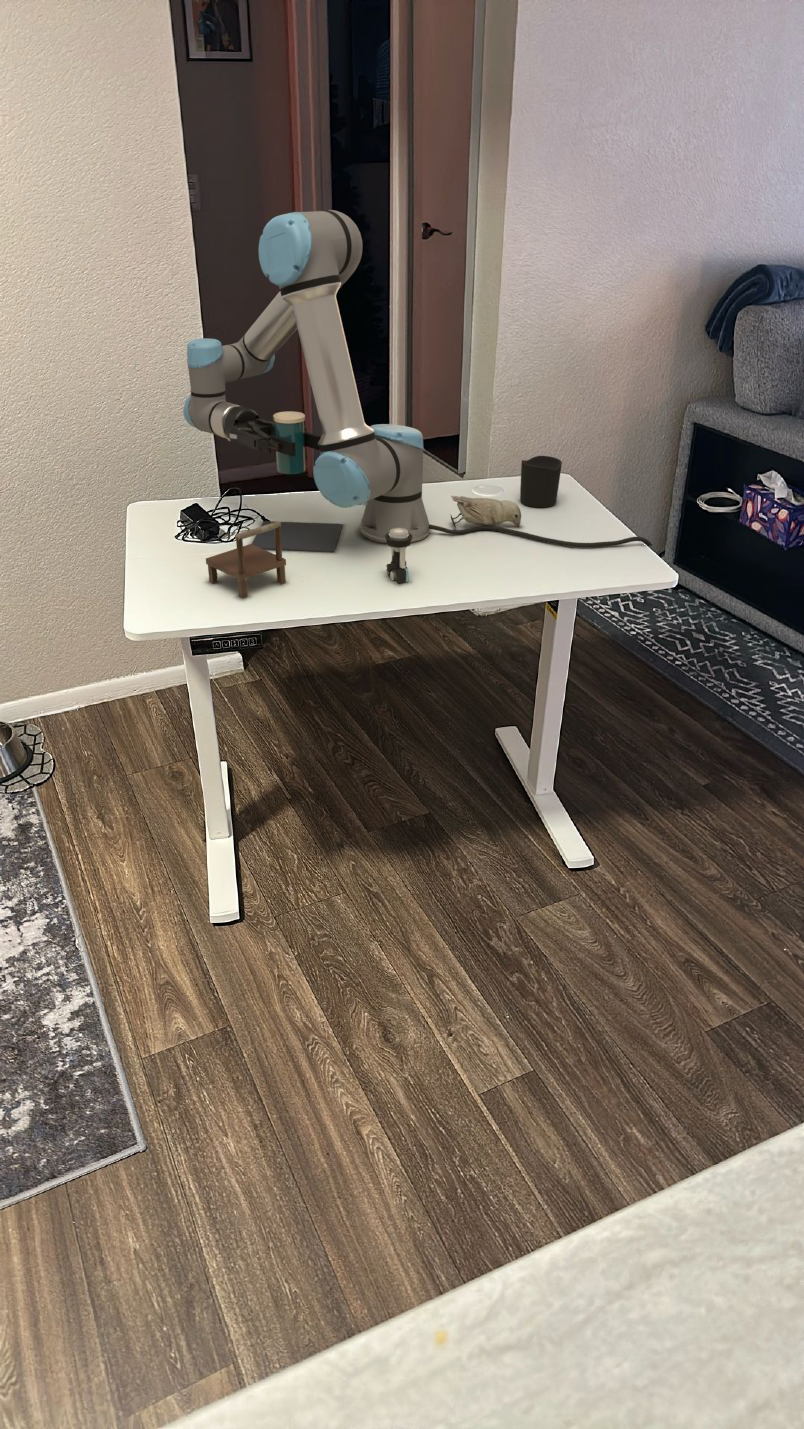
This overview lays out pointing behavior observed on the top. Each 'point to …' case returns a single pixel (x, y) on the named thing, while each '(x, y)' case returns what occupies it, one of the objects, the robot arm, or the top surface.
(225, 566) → the miniature wooden chair
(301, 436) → the canister
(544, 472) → the pen holder
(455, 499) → the decorative bird
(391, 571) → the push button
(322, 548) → the mat
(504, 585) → the top surface
